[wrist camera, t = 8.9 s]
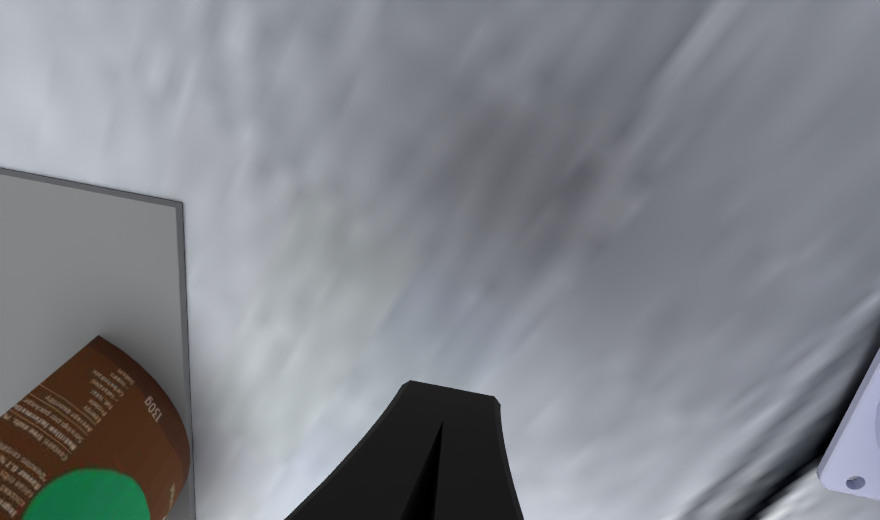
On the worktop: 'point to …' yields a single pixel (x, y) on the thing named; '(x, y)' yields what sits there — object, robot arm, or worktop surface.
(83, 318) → the mat
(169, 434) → the food container
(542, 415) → the worktop surface
